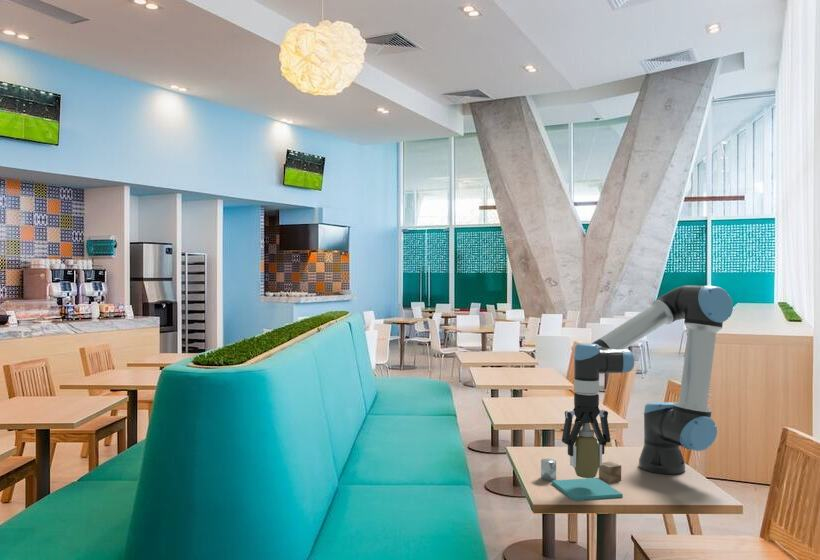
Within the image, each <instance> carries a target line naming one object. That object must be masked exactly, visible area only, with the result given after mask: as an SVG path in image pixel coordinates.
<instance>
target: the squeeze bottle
mask: <svg viewBox="0 0 820 560" xmlns="http://www.w3.org/2000/svg"><path fill="white" fill-rule="evenodd" d="M597 443H598V440H597V437H596V436H595V432H594V430H593V429H591V423H583V426H581V429H580V431H579V433H578V436H577V438H576V441H575V443H574V445H575V446H576V467H573V468H574V471H575V474H576V476H577V477H580V478H582V479H586V478H596V476H597V473H598V472H599V455H598V445H597Z"/></svg>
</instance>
